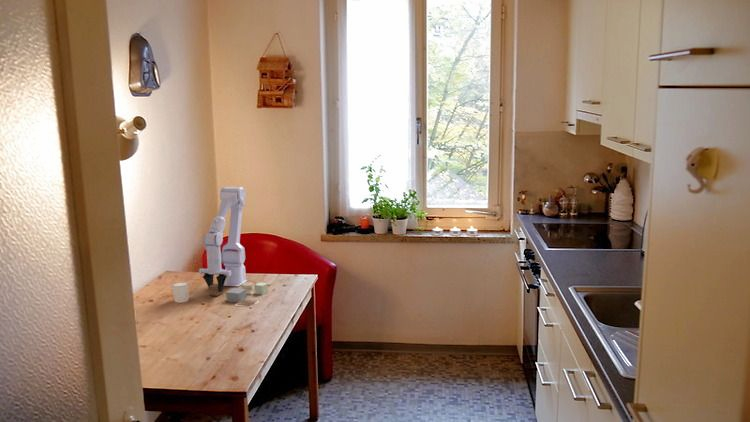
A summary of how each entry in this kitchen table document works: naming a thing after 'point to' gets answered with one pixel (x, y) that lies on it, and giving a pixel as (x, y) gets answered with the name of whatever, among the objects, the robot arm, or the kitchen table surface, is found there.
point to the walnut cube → (214, 290)
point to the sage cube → (261, 288)
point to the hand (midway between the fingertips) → (216, 290)
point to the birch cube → (248, 287)
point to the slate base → (236, 295)
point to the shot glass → (181, 292)
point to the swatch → (247, 303)
